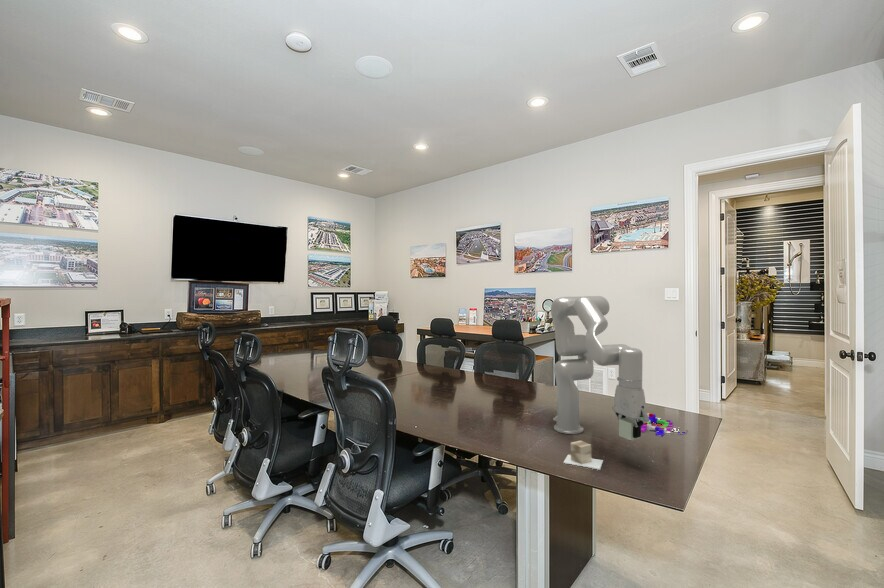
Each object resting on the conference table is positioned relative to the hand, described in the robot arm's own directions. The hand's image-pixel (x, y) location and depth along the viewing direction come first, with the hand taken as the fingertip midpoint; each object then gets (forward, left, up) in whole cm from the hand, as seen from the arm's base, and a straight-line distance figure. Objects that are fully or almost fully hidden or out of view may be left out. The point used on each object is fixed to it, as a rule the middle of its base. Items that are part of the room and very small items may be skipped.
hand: (629, 433), depth 140 cm
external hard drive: (-9, -13, -12) cm, 20 cm away
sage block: (0, 0, -1) cm, 1 cm away
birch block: (-10, -13, -11) cm, 20 cm away
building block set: (-23, +46, -12) cm, 53 cm away
